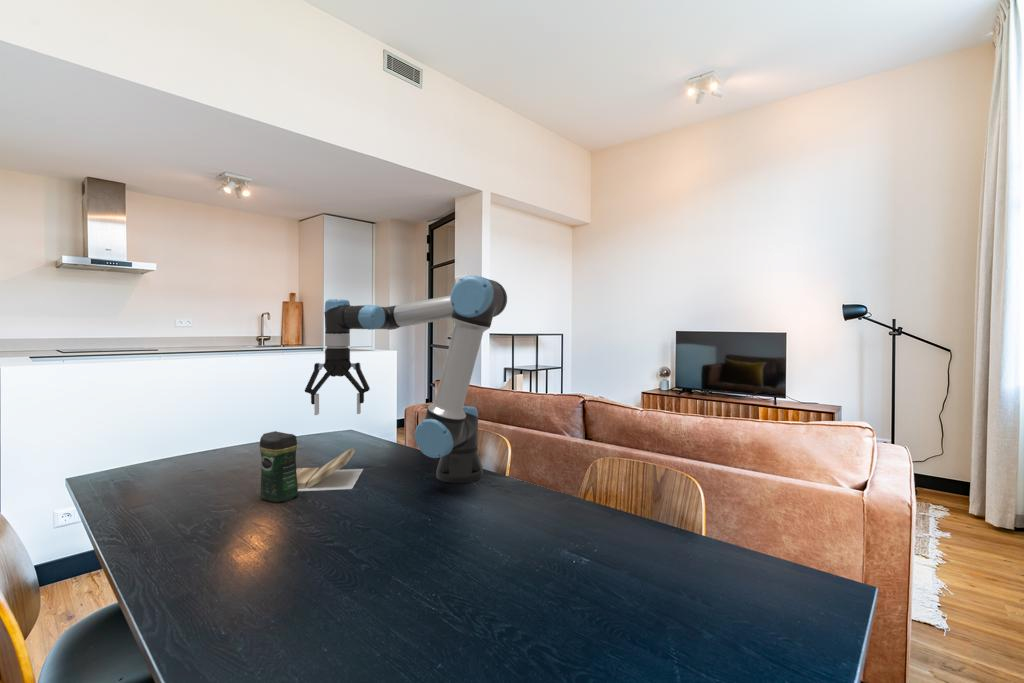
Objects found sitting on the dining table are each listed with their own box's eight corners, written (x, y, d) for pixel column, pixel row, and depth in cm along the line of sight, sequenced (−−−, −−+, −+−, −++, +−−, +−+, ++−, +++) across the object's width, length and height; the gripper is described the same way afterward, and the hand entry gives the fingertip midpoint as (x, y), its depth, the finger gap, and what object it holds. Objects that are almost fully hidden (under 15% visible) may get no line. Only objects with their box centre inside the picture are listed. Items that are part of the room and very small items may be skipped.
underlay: (363, 469, 158) (363, 468, 158) (352, 489, 138) (352, 488, 138) (285, 472, 155) (285, 471, 155) (262, 493, 135) (262, 492, 135)
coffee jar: (303, 496, 133) (302, 431, 132) (278, 505, 126) (276, 438, 125) (281, 489, 137) (279, 427, 136) (255, 499, 130) (254, 433, 129)
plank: (355, 451, 156) (352, 447, 156) (345, 465, 140) (342, 460, 140) (323, 471, 154) (320, 467, 154) (309, 487, 139) (306, 483, 138)
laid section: (319, 472, 154) (319, 467, 154) (305, 488, 138) (305, 483, 138) (284, 473, 153) (284, 468, 153) (265, 490, 137) (265, 484, 137)
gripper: (378, 347, 156) (378, 410, 156) (300, 347, 152) (301, 412, 152) (375, 347, 148) (375, 414, 149) (293, 348, 144) (294, 417, 145)
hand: (337, 413), depth 150 cm, fingers open, 12 cm apart
